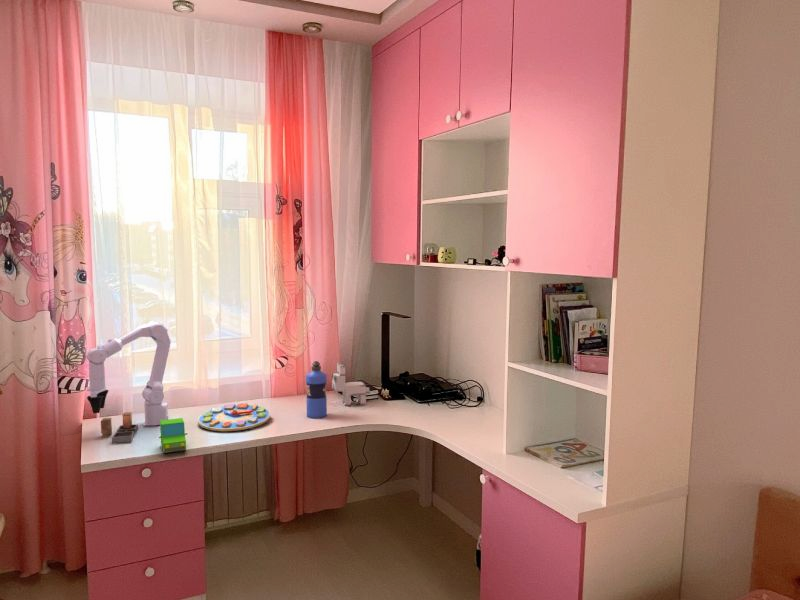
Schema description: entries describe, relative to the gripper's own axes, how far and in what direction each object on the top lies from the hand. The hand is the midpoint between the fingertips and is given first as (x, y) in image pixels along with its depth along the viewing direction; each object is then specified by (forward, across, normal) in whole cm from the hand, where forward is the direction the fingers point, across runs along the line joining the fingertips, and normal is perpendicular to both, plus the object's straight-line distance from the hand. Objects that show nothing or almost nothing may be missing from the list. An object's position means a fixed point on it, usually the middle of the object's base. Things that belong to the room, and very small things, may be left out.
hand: (98, 410), depth 250 cm
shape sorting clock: (+10, -4, +54) cm, 55 cm away
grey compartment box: (+10, +7, +11) cm, 16 cm away
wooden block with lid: (+10, +4, +4) cm, 11 cm away
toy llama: (+10, -22, +108) cm, 111 cm away
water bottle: (+10, -5, +90) cm, 90 cm away
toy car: (+10, +28, +32) cm, 44 cm away
